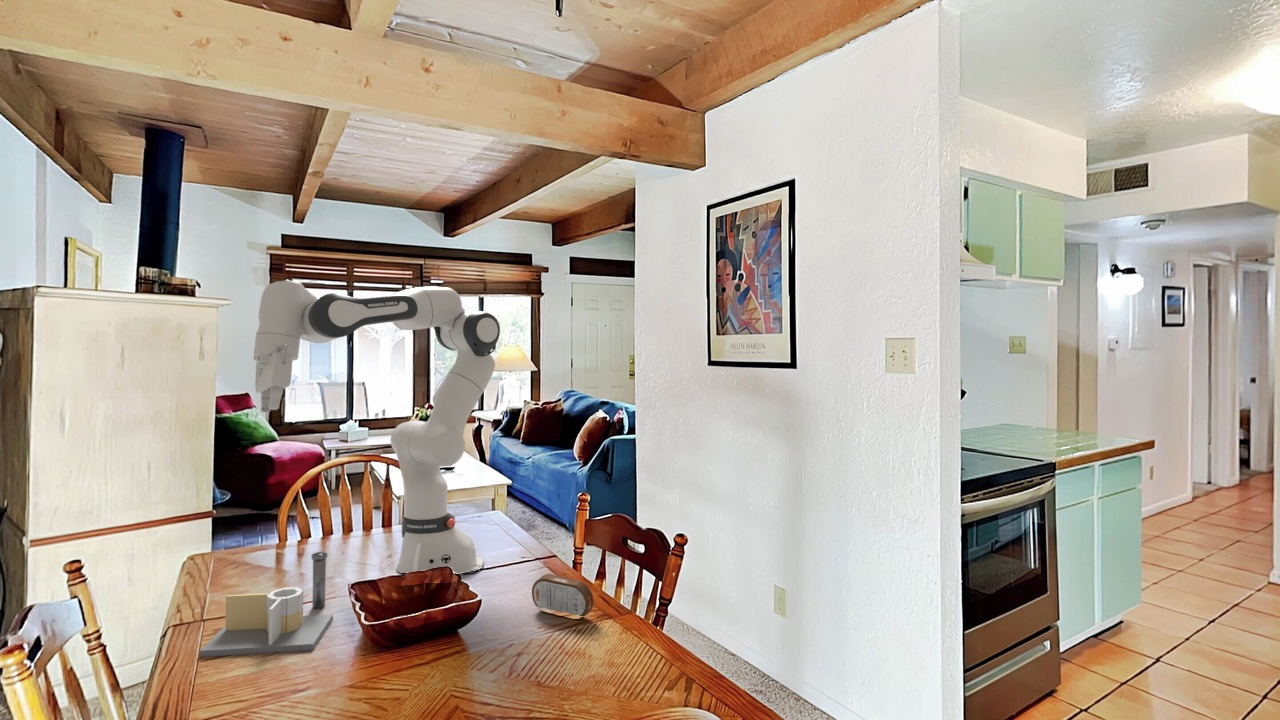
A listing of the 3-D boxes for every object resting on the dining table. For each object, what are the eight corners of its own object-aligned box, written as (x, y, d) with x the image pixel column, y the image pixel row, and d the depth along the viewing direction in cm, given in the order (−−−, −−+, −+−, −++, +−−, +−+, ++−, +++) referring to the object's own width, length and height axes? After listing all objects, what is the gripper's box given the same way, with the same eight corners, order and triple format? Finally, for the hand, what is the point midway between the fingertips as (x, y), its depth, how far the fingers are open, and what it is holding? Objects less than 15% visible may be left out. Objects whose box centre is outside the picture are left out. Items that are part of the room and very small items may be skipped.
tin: (593, 619, 145) (594, 581, 144) (586, 624, 142) (587, 586, 142) (537, 606, 151) (537, 570, 151) (529, 611, 148) (530, 574, 148)
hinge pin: (328, 603, 150) (329, 551, 149) (324, 609, 147) (325, 556, 146) (313, 604, 149) (314, 552, 149) (309, 609, 146) (309, 556, 146)
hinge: (332, 620, 141) (333, 582, 141) (313, 650, 127) (313, 608, 127) (231, 625, 137) (231, 586, 137) (199, 657, 123) (200, 614, 123)
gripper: (302, 345, 141) (295, 408, 139) (283, 357, 157) (276, 415, 154) (269, 341, 137) (261, 406, 135) (253, 354, 153) (245, 413, 150)
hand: (269, 411), depth 145 cm, fingers open, 8 cm apart
